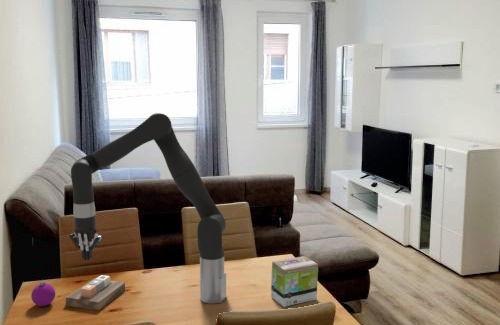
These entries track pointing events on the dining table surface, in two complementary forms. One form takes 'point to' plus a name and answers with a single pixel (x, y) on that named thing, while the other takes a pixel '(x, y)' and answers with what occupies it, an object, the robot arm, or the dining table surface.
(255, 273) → the dining table surface
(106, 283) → the key ivory
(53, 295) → the christmas ornament
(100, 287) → the key slate
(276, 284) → the tea box
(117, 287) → the keypad board
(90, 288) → the key terracotta
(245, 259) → the dining table surface
